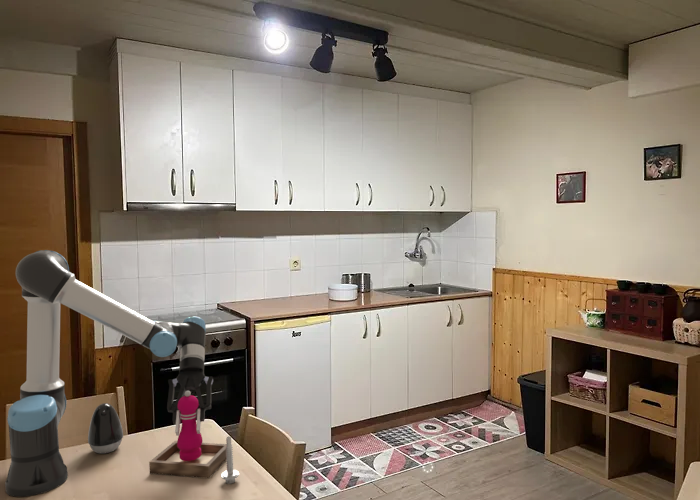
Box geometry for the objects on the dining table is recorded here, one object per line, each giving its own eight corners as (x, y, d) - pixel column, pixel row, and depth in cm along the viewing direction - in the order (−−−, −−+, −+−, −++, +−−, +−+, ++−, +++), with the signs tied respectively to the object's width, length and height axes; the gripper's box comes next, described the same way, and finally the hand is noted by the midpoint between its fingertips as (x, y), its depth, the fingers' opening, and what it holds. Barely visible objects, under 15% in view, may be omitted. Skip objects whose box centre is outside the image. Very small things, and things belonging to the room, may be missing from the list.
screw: (239, 476, 152) (238, 485, 147) (222, 478, 151) (220, 486, 146) (238, 431, 151) (236, 439, 146) (220, 433, 150) (218, 440, 145)
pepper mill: (195, 462, 155) (192, 395, 154) (173, 461, 157) (169, 394, 155) (207, 451, 162) (204, 387, 161) (185, 450, 164) (182, 386, 162)
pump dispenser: (87, 460, 164) (84, 411, 163) (89, 446, 174) (87, 401, 173) (123, 453, 168) (121, 406, 167) (123, 441, 178) (121, 396, 177)
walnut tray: (149, 473, 155) (149, 461, 154) (175, 451, 169) (174, 440, 168) (209, 478, 151) (208, 466, 151) (230, 455, 165) (229, 444, 165)
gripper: (222, 365, 175) (221, 435, 160) (164, 369, 172) (157, 440, 157) (220, 353, 169) (219, 424, 154) (160, 357, 166) (152, 430, 151)
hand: (187, 432), depth 155 cm, fingers closed on pepper mill, 5 cm apart
